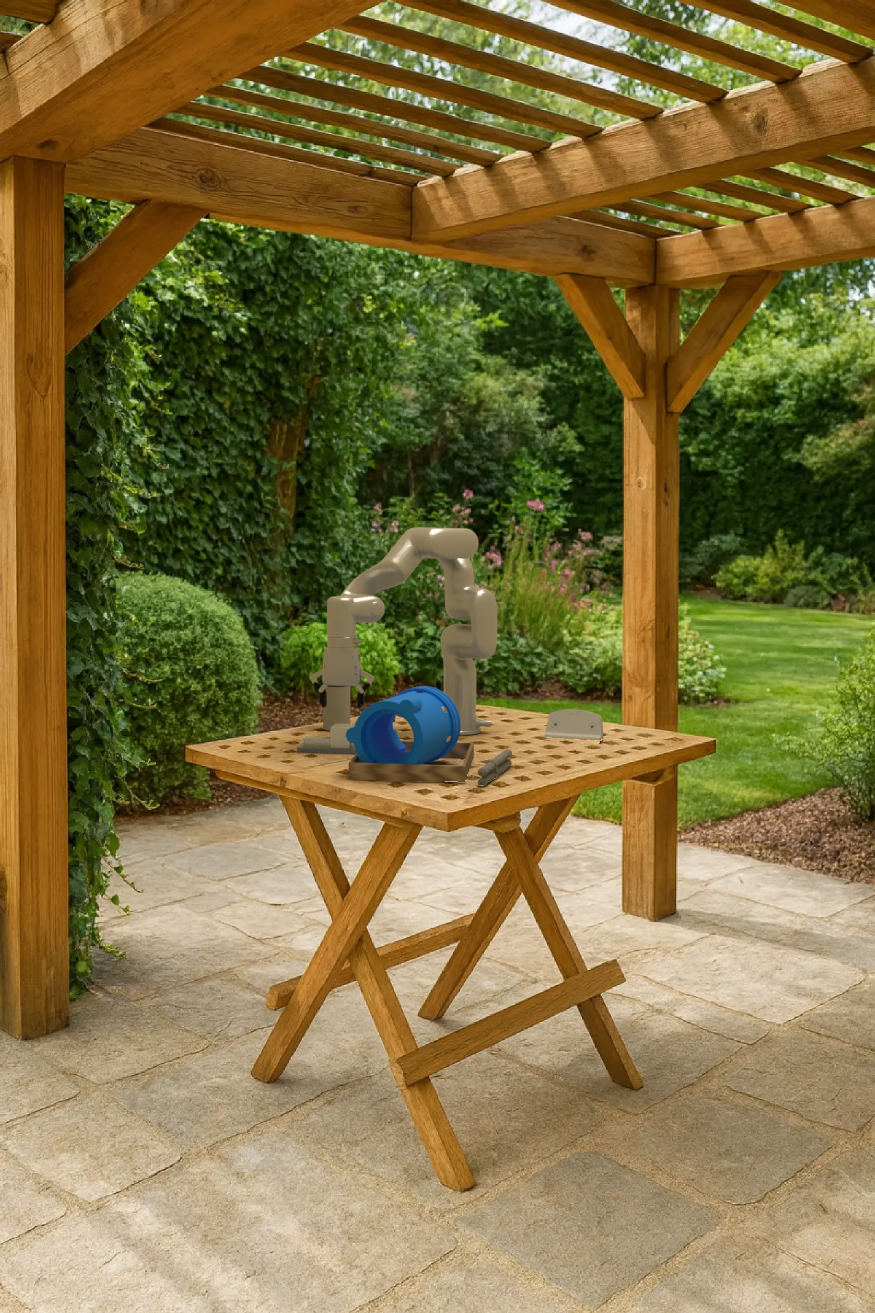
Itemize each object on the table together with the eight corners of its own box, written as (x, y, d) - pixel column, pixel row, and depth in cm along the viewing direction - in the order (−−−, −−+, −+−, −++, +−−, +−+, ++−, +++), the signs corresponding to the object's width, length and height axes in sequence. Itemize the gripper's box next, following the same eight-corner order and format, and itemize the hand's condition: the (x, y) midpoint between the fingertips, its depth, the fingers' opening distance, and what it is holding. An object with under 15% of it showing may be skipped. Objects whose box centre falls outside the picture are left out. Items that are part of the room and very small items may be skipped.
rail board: (384, 748, 327) (384, 736, 326) (379, 754, 317) (379, 742, 317) (304, 745, 329) (304, 734, 328) (296, 752, 319) (296, 740, 319)
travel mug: (355, 729, 357) (355, 668, 355) (340, 732, 350) (340, 671, 348) (332, 726, 361) (333, 666, 359) (317, 730, 354) (317, 669, 352)
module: (353, 744, 326) (353, 724, 325) (349, 748, 319) (349, 728, 319) (334, 743, 326) (334, 723, 326) (330, 747, 320) (330, 727, 319)
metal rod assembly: (502, 767, 304) (502, 747, 303) (513, 768, 303) (513, 748, 303) (475, 788, 279) (475, 766, 279) (486, 789, 279) (487, 767, 278)
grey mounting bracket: (542, 740, 341) (545, 705, 344) (545, 743, 346) (549, 709, 348) (600, 744, 336) (604, 709, 338) (603, 747, 341) (606, 712, 343)
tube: (434, 779, 310) (374, 736, 315) (477, 710, 304) (415, 667, 309) (397, 799, 287) (334, 752, 291) (443, 724, 281) (377, 678, 285)
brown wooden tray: (473, 757, 314) (473, 742, 314) (465, 783, 283) (465, 766, 283) (368, 754, 317) (368, 739, 317) (348, 779, 286) (348, 763, 285)
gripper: (376, 642, 323) (376, 705, 325) (312, 641, 324) (312, 704, 326) (371, 645, 315) (372, 710, 317) (306, 644, 317) (307, 708, 319)
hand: (342, 707), depth 322 cm, fingers open, 9 cm apart
